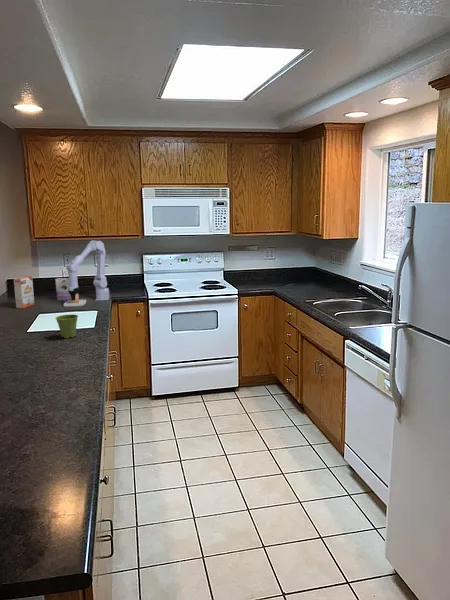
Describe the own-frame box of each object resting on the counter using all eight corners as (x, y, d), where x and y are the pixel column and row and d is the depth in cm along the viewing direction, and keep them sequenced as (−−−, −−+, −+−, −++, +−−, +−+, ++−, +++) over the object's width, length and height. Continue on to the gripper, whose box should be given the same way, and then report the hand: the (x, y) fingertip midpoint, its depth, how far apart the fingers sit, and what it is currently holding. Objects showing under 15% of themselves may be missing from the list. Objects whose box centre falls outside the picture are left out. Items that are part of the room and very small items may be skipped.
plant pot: (71, 332, 275) (70, 313, 273) (84, 336, 268) (82, 316, 265) (52, 337, 266) (50, 317, 264) (65, 341, 259) (63, 320, 257)
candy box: (77, 299, 371) (75, 277, 368) (74, 300, 365) (72, 278, 362) (60, 299, 372) (58, 277, 369) (56, 300, 367) (54, 279, 363)
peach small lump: (79, 302, 354) (79, 293, 353) (78, 304, 350) (77, 294, 348) (72, 303, 354) (72, 293, 353) (71, 304, 349) (70, 294, 348)
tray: (86, 302, 359) (86, 299, 358) (82, 306, 346) (82, 303, 346) (68, 302, 358) (67, 300, 357) (63, 306, 345) (63, 303, 345)
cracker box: (23, 308, 340) (20, 279, 336) (16, 308, 342) (12, 278, 337) (35, 304, 354) (32, 276, 350) (27, 304, 355) (24, 275, 351)
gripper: (69, 278, 355) (71, 297, 358) (65, 282, 341) (66, 301, 344) (79, 278, 356) (81, 296, 358) (75, 281, 342) (76, 300, 344)
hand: (74, 299), depth 351 cm, fingers open, 7 cm apart
